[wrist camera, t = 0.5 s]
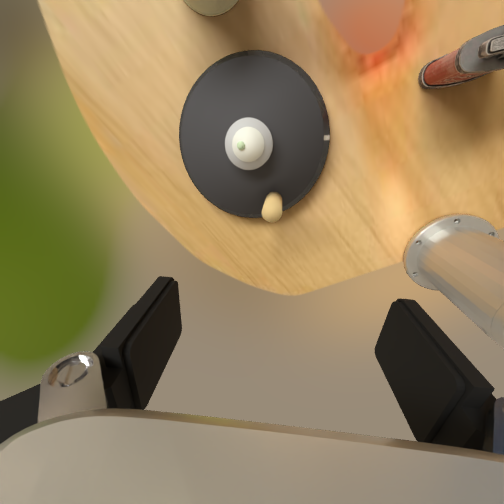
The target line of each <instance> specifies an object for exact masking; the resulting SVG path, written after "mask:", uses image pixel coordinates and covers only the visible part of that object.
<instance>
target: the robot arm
mask: <svg viewBox="0 0 504 504" xmlns="http://www.w3.org/2000/svg"><path fill="white" fill-rule="evenodd" d="M403 262H404V268H405V270H406V272H407V274H408V275H409V277H410V278H411V279H412V280H413V281H414V282H416V283H417V284H418V285H420V286H422V287H424V288H427V289H432V290H439V291H440V292H441V293H443V294H444V295H445V296H446V297H447V298H448V299H449V300H450V301H452V303H454V305H456V306H457V307H458V308H459V309H460V310H461V311H462V312H463V313H464V314H465V315H467V317H469V318H470V319H471V320H472V321H473V322H474V323H475V324H476V325H477V326H478V327H479V328H480V329H482V330H483V331H484V332H485V333H486V334H487V335H488V336H489V337H490V338H491V339H493V340H494V341H495V342H496V343H497V344H498V345H499V346H500V347H501V348H502V349H503V350H504V241H503V240H500V239H499V236H498V233H497V231H496V230H495V228H494V227H493V226H492V225H491V224H490V223H489V222H488V221H486V220H484V219H482V218H479V217H477V216H474V215H468V214H453V215H447V216H444V217H441V218H438V219H436V220H433V221H431V222H429V223H428V224H426V225H425V226H423V227H422V228H421V229H420V230H419V231H418V232H416V233H415V234H414V236H413V237H412V238H411V240H410V241H409V243H408V245H407V247H406V249H405V252H404V259H403ZM181 331H182V325H181V314H180V303H179V291H178V282H177V281H174V279H173V278H172V277H162V276H160V277H158V278H157V279H156V281H155V282H154V283H153V284H152V286H151V287H150V288H149V289H148V290H147V291H146V293H145V294H144V295H143V296H142V297H141V298H140V300H139V301H138V302H137V303H136V304H135V305H133V306H132V307H131V308H130V309H129V310H128V312H127V313H126V314H125V315H124V316H123V318H122V319H121V320H120V321H119V322H118V323H117V324H116V326H115V327H114V328H113V329H112V330H111V331H110V333H109V334H108V335H107V336H106V337H105V339H104V340H103V341H102V342H101V343H100V345H99V346H98V347H97V348H96V349H95V350H94V351H93V352H88V351H84V352H77V353H73V354H70V355H68V356H65V357H63V358H61V359H60V360H58V361H57V362H55V363H54V364H53V365H52V366H51V367H49V368H48V369H47V371H46V372H45V374H44V375H43V377H42V380H41V384H39V385H36V386H34V387H32V388H29V389H27V390H25V391H23V392H20V393H18V394H16V395H14V396H11V397H9V398H7V399H5V400H2V401H0V504H504V397H501V398H498V399H496V398H495V397H494V396H493V395H492V392H493V391H494V387H493V386H492V385H491V384H490V383H489V382H488V381H487V380H486V379H485V377H484V376H483V375H482V374H481V373H480V372H479V371H478V370H477V369H476V368H475V367H474V365H473V364H472V363H471V362H470V361H469V360H468V359H467V358H466V356H465V355H464V354H463V353H462V352H461V351H460V350H459V349H458V348H457V346H456V345H455V344H454V343H453V342H452V341H451V340H450V339H449V338H448V336H447V335H446V334H445V333H444V332H443V331H442V330H441V329H440V328H439V327H438V325H437V324H436V323H435V322H434V321H433V320H432V319H431V318H430V317H429V315H428V314H427V313H426V312H425V311H424V310H423V309H422V308H421V307H420V305H419V304H418V303H417V302H416V301H415V300H409V299H397V300H396V302H393V303H392V304H391V307H390V309H389V312H388V315H387V317H386V320H385V323H384V325H383V328H382V330H381V333H380V336H379V338H378V341H377V344H376V346H375V355H376V358H377V360H378V362H379V364H380V366H381V368H382V370H383V372H384V374H385V377H386V379H387V381H388V382H389V385H390V387H391V389H392V391H393V393H394V395H395V397H396V399H397V401H398V403H399V406H400V408H401V409H402V412H403V414H404V416H405V418H406V420H407V422H408V424H409V426H410V428H411V430H412V433H413V435H414V437H415V438H416V440H417V441H418V442H417V441H409V440H401V439H392V438H385V437H376V436H369V435H361V434H352V433H345V432H336V431H327V430H320V429H311V428H303V427H295V426H286V425H277V424H269V423H261V422H252V421H244V420H235V419H226V418H217V417H208V416H200V415H191V414H182V413H171V412H160V411H150V410H144V409H145V407H146V406H147V404H148V402H149V400H150V398H151V396H152V394H153V392H154V390H155V388H156V386H157V383H158V381H159V379H160V377H161V375H162V373H163V371H164V369H165V367H166V365H167V362H168V360H169V358H170V356H171V354H172V352H173V350H174V348H175V346H176V343H177V341H178V339H179V337H180V335H181Z"/></svg>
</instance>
